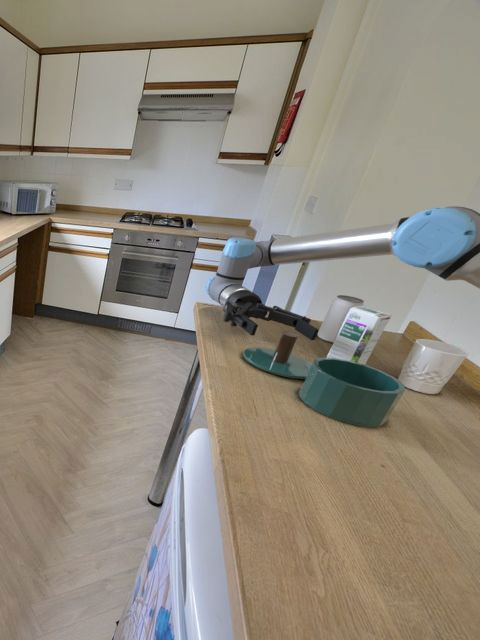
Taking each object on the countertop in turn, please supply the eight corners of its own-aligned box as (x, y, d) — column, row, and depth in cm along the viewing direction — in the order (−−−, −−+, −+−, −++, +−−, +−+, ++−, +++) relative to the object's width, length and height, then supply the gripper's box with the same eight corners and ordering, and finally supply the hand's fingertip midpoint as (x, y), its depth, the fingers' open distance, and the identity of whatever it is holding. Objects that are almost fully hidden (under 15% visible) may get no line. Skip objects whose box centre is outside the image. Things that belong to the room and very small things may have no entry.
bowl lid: (317, 365, 99) (332, 334, 95) (312, 388, 89) (328, 354, 85) (248, 346, 107) (259, 317, 104) (236, 364, 97) (248, 333, 94)
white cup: (393, 373, 97) (416, 335, 92) (441, 387, 92) (467, 347, 87) (392, 385, 92) (415, 345, 87) (442, 400, 87) (470, 359, 82)
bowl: (383, 406, 83) (401, 374, 80) (386, 436, 74) (407, 402, 71) (302, 381, 91) (316, 351, 88) (295, 405, 82) (310, 373, 79)
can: (325, 342, 112) (345, 301, 106) (311, 333, 117) (329, 293, 112) (351, 345, 111) (372, 303, 106) (336, 335, 117) (355, 295, 111)
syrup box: (322, 362, 101) (349, 307, 94) (336, 358, 103) (363, 304, 96) (349, 373, 96) (379, 316, 90) (363, 369, 98) (393, 313, 92)
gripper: (281, 318, 116) (333, 351, 97) (191, 310, 118) (224, 342, 99) (292, 293, 113) (347, 322, 94) (198, 285, 115) (235, 313, 96)
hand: (284, 332), depth 96 cm, fingers open, 13 cm apart
